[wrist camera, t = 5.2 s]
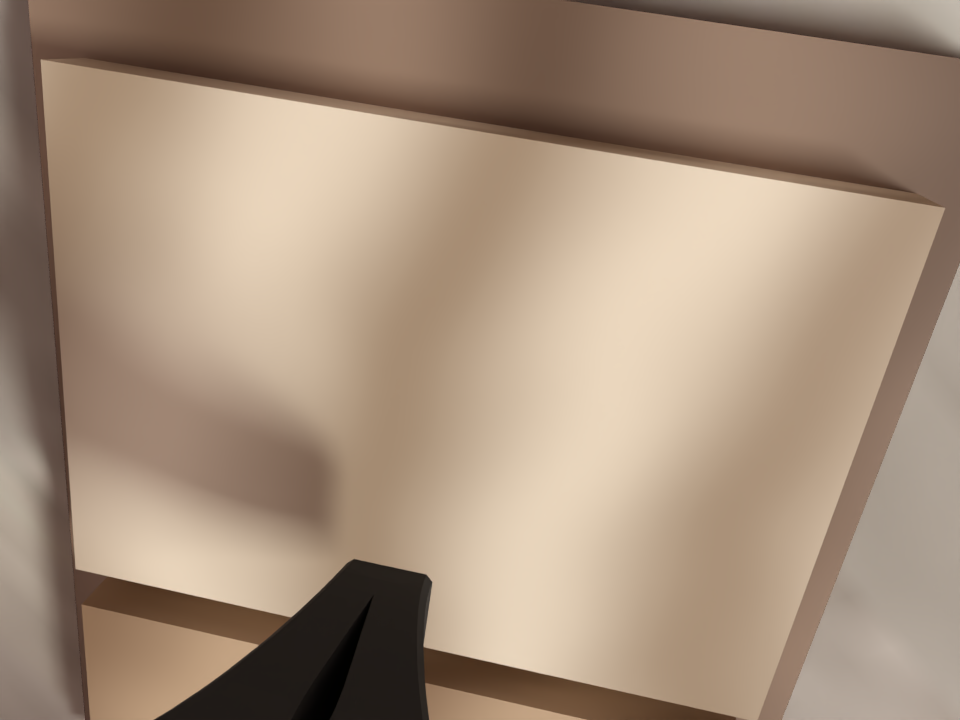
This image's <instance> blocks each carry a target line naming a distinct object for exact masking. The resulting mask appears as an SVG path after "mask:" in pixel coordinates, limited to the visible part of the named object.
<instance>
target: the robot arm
mask: <svg viewBox="0 0 960 720" xmlns="http://www.w3.org/2000/svg"><path fill="white" fill-rule="evenodd" d="M431 589H432V581H431V579H430V578H429V577H428V576H427V574H422V573H417V572H413V571H408V570H403V569H399V568H394V567H389V566H385V565H380V564H375V563H371V562H366V561H361V560H357V559H353V560H351V561H350V562H348V563H346V565H345V566H344V567H343V568H342V569H341V570H340V571H339V572H338V573H337V574H336V575H335V576H334V577H333V578H332V579H331V580H330V581H329V582H328V583H327V584H326V585H325V586H324V587H323V588H322V589H321V590H320V591H319V592H318V593H317V594H316V595H315V596H314V597H313V598H312V599H311V600H310V601H309V602H308V603H307V604H305V605H304V606H303V607H302V608H301V609H300V610H299V611H298V612H297V613H296V614H295V615H293V616H292V617H291V618H290V619H289V620H288V621H287V622H285V623H284V624H283V625H282V626H281V627H280V628H279V629H278V630H276V631H275V632H274V633H273V634H272V635H271V636H270V637H268V638H267V639H266V640H265V641H264V642H262V643H261V644H260V645H259V646H257V647H256V648H255V649H254V650H252V651H251V652H250V653H248V654H247V655H246V656H245V657H243V658H242V659H241V660H240V661H238V662H237V663H236V664H235V665H233V666H232V667H231V668H230V669H228V670H227V671H226V672H224V673H223V674H222V675H220V676H219V677H217V678H216V679H215V680H213V681H212V682H211V683H209V684H208V685H206V686H205V687H203V688H202V689H201V690H199V691H198V692H196V693H195V694H193V695H192V696H190V697H189V698H187V699H186V700H184V701H183V702H181V703H180V704H178V705H177V706H175V707H174V708H172V709H170V710H169V711H167V712H166V713H164V714H162V715H161V716H159V717H157V718H156V719H154V720H429V714H428V706H427V697H426V686H425V670H424V638H425V631H426V624H427V617H428V610H429V603H430V596H431Z"/></svg>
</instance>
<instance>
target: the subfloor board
mask: <svg viewBox="0 0 960 720" xmlns="http://www.w3.org/2000/svg"><path fill="white" fill-rule="evenodd" d="M28 7H29V19H30V32H31V45H32V57H33V70H34V82H35V95H36V107H37V120H38V133H39V145H40V158H41V170H42V183H43V196H44V208H45V221H46V233H47V246H48V258H49V271H50V284H51V296H52V309H53V321H54V334H55V346H56V359H57V372H58V384H59V397H60V409H61V422H62V435H63V447H64V460H65V472H66V485H67V497H68V510H69V523H70V535H71V548H72V560H73V573H74V586H75V598H76V611H77V623H78V636H79V648H80V661H81V674H82V686H83V699H84V711H85V720H154V719H156V718H157V717H159V716H161V715H162V714H164V713H166V712H167V711H169V710H170V709H172V708H174V707H175V706H177V705H178V704H180V703H181V702H183V701H184V700H186V699H187V698H189V697H190V696H192V695H193V694H195V693H196V692H198V691H199V690H201V689H202V688H203V687H205V686H206V685H208V684H209V683H211V682H212V681H213V680H215V679H216V678H217V677H219V676H220V675H222V674H223V673H224V672H226V671H227V670H228V669H230V668H231V667H232V666H233V665H235V664H236V663H237V662H238V661H240V660H241V659H242V658H243V657H245V656H246V655H247V654H248V653H250V652H251V651H252V650H254V649H255V648H256V647H257V646H259V645H260V644H261V643H262V642H264V641H265V640H266V639H267V638H268V637H270V636H271V635H272V634H273V633H274V632H275V631H276V630H278V629H279V628H280V627H281V626H282V625H283V624H284V623H285V622H287V621H288V620H289V619H290V618H291V617H287V616H283V615H278V614H274V613H269V612H265V611H261V610H256V609H252V608H247V607H243V606H238V605H234V604H229V603H225V602H220V601H216V600H212V599H207V598H203V597H198V596H194V595H189V594H185V593H180V592H176V591H171V590H167V589H162V588H158V587H154V586H149V585H145V584H140V583H136V582H131V581H127V580H122V579H118V578H113V577H109V576H105V575H100V574H96V573H91V572H87V571H82V570H78V569H76V568H75V553H74V539H73V524H72V510H71V495H70V481H69V466H68V451H67V437H66V422H65V408H64V393H63V379H62V364H61V349H60V335H59V320H58V306H57V291H56V277H55V262H54V247H53V233H52V218H51V204H50V189H49V175H48V160H47V145H46V131H45V116H44V102H43V87H42V73H41V59H74V58H88V59H94V60H100V61H106V62H112V63H119V64H125V65H131V66H137V67H143V68H149V69H155V70H161V71H168V72H174V73H180V74H186V75H192V76H198V77H204V78H211V79H217V80H223V81H229V82H235V83H241V84H247V85H254V86H260V87H266V88H272V89H278V90H284V91H290V92H296V93H303V94H309V95H315V96H321V97H327V98H333V99H339V100H346V101H352V102H358V103H364V104H370V105H376V106H382V107H389V108H395V109H401V110H407V111H413V112H419V113H425V114H432V115H438V116H444V117H450V118H456V119H462V120H468V121H474V122H481V123H487V124H493V125H499V126H505V127H511V128H517V129H524V130H530V131H536V132H542V133H548V134H554V135H560V136H567V137H573V138H579V139H585V140H591V141H597V142H603V143H609V144H616V145H622V146H628V147H634V148H640V149H646V150H652V151H659V152H665V153H671V154H677V155H683V156H689V157H695V158H702V159H708V160H714V161H720V162H726V163H732V164H738V165H745V166H751V167H757V168H763V169H769V170H775V171H781V172H787V173H794V174H800V175H806V176H812V177H818V178H824V179H830V180H837V181H843V182H849V183H855V184H861V185H867V186H873V187H880V188H886V189H892V190H898V191H904V192H910V193H916V194H919V195H921V196H923V197H925V198H927V199H929V200H931V201H933V202H935V203H937V204H939V205H941V206H943V207H945V210H944V213H943V216H942V218H941V221H940V224H939V227H938V229H937V232H936V235H935V238H934V240H933V243H932V246H931V248H930V251H929V254H928V257H927V259H926V262H925V265H924V268H923V270H922V273H921V276H920V278H919V281H918V284H917V287H916V289H915V292H914V295H913V298H912V300H911V303H910V306H909V308H908V311H907V314H906V317H905V319H904V322H903V325H902V328H901V330H900V333H899V336H898V338H897V341H896V344H895V347H894V349H893V352H892V355H891V358H890V360H889V363H888V366H887V368H886V371H885V374H884V377H883V379H882V382H881V385H880V388H879V390H878V393H877V396H876V398H875V401H874V404H873V407H872V409H871V412H870V415H869V418H868V420H867V423H866V426H865V428H864V431H863V434H862V437H861V439H860V442H859V445H858V448H857V450H856V453H855V456H854V458H853V461H852V464H851V467H850V469H849V472H848V475H847V478H846V480H845V483H844V486H843V488H842V491H841V494H840V497H839V499H838V502H837V505H836V508H835V510H834V513H833V516H832V518H831V521H830V524H829V527H828V529H827V532H826V535H825V538H824V540H823V543H822V546H821V548H820V551H819V554H818V557H817V559H816V562H815V565H814V568H813V570H812V573H811V576H810V579H809V581H808V584H807V587H806V589H805V592H804V595H803V598H802V600H801V603H800V606H799V609H798V611H797V614H796V617H795V619H794V622H793V625H792V628H791V630H790V633H789V636H788V639H787V641H786V644H785V647H784V649H783V652H782V655H781V658H780V660H779V663H778V666H777V669H776V671H775V674H774V677H773V679H772V682H771V685H770V688H769V690H768V693H767V696H766V699H765V701H764V704H763V707H762V709H761V712H760V715H759V718H758V720H782V718H783V715H784V712H785V710H786V707H787V705H788V702H789V700H790V697H791V694H792V692H793V689H794V687H795V684H796V682H797V679H798V676H799V674H800V671H801V669H802V666H803V664H804V661H805V659H806V656H807V653H808V651H809V648H810V646H811V643H812V641H813V638H814V635H815V633H816V630H817V628H818V625H819V623H820V620H821V617H822V615H823V612H824V610H825V607H826V605H827V602H828V600H829V597H830V594H831V592H832V589H833V587H834V584H835V582H836V579H837V576H838V574H839V571H840V569H841V566H842V564H843V561H844V558H845V556H846V553H847V551H848V548H849V546H850V543H851V541H852V538H853V535H854V533H855V530H856V528H857V525H858V523H859V520H860V517H861V515H862V512H863V510H864V507H865V505H866V502H867V499H868V497H869V494H870V492H871V489H872V487H873V484H874V482H875V479H876V476H877V474H878V471H879V469H880V466H881V464H882V461H883V458H884V456H885V453H886V451H887V448H888V446H889V443H890V440H891V438H892V435H893V433H894V430H895V428H896V425H897V423H898V420H899V417H900V415H901V412H902V410H903V407H904V405H905V402H906V399H907V397H908V394H909V392H910V389H911V387H912V384H913V381H914V379H915V376H916V374H917V371H918V369H919V366H920V364H921V361H922V358H923V356H924V353H925V351H926V348H927V346H928V343H929V340H930V338H931V335H932V333H933V330H934V328H935V325H936V322H937V320H938V317H939V315H940V312H941V310H942V307H943V305H944V302H945V299H946V297H947V294H948V292H949V289H950V287H951V284H952V281H953V279H954V276H955V274H956V271H957V269H958V266H959V263H960V59H959V58H952V57H946V56H939V55H932V54H925V53H919V52H912V51H905V50H898V49H891V48H885V47H878V46H871V45H864V44H858V43H851V42H844V41H837V40H830V39H824V38H817V37H810V36H803V35H797V34H790V33H783V32H776V31H769V30H763V29H756V28H749V27H742V26H736V25H729V24H722V23H715V22H709V21H702V20H695V19H688V18H681V17H675V16H668V15H661V14H654V13H648V12H641V11H634V10H627V9H620V8H614V7H607V6H600V5H593V4H587V3H580V2H573V1H566V0H28ZM424 670H425V686H426V697H427V706H428V714H429V720H747V719H742V718H738V717H733V716H729V715H724V714H720V713H715V712H711V711H706V710H702V709H698V708H693V707H689V706H684V705H680V704H675V703H671V702H666V701H662V700H657V699H653V698H648V697H644V696H640V695H635V694H631V693H626V692H622V691H617V690H613V689H608V688H604V687H599V686H595V685H591V684H586V683H582V682H577V681H573V680H568V679H564V678H559V677H555V676H550V675H546V674H541V673H537V672H533V671H528V670H524V669H519V668H515V667H510V666H506V665H501V664H497V663H492V662H488V661H484V660H479V659H475V658H470V657H466V656H461V655H457V654H452V653H448V652H443V651H439V650H434V649H430V648H426V647H424Z"/></svg>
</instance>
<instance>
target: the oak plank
mask: <svg viewBox="0 0 960 720" xmlns="http://www.w3.org/2000/svg"><path fill="white" fill-rule="evenodd" d="M41 73H42V87H43V102H44V116H45V131H46V145H47V160H48V175H49V189H50V204H51V218H52V233H53V247H54V262H55V277H56V291H57V306H58V320H59V335H60V349H61V364H62V379H63V393H64V408H65V422H66V437H67V451H68V466H69V481H70V495H71V510H72V524H73V539H74V553H75V568H76V569H78V570H82V571H87V572H91V573H96V574H100V575H105V576H109V577H113V578H118V579H122V580H127V581H131V582H136V583H140V584H145V585H149V586H154V587H158V588H162V589H167V590H171V591H176V592H180V593H185V594H189V595H194V596H198V597H203V598H207V599H212V600H216V601H220V602H225V603H229V604H234V605H238V606H243V607H247V608H252V609H256V610H261V611H265V612H269V613H274V614H278V615H283V616H287V617H292V616H293V615H295V614H296V613H297V612H298V611H299V610H300V609H301V608H302V607H303V606H304V605H305V604H307V603H308V602H309V601H310V600H311V599H312V598H313V597H314V596H315V595H316V594H317V593H318V592H319V591H320V590H321V589H322V588H323V587H324V586H325V585H326V584H327V583H328V582H329V581H330V580H331V579H332V578H333V577H334V576H335V575H336V574H337V573H338V572H339V571H340V570H341V569H342V568H343V567H344V566H345V565H346V563H348V562H350V561H351V560H353V559H357V560H361V561H366V562H371V563H375V564H380V565H385V566H389V567H394V568H399V569H403V570H408V571H413V572H417V573H422V574H427V576H428V577H429V578H430V579H431V581H432V589H431V596H430V603H429V610H428V617H427V624H426V631H425V638H424V647H426V648H430V649H434V650H439V651H443V652H448V653H452V654H457V655H461V656H466V657H470V658H475V659H479V660H484V661H488V662H492V663H497V664H501V665H506V666H510V667H515V668H519V669H524V670H528V671H533V672H537V673H541V674H546V675H550V676H555V677H559V678H564V679H568V680H573V681H577V682H582V683H586V684H591V685H595V686H599V687H604V688H608V689H613V690H617V691H622V692H626V693H631V694H635V695H640V696H644V697H648V698H653V699H657V700H662V701H666V702H671V703H675V704H680V705H684V706H689V707H693V708H698V709H702V710H706V711H711V712H715V713H720V714H724V715H729V716H733V717H738V718H742V719H747V720H758V718H759V715H760V712H761V709H762V707H763V704H764V701H765V699H766V696H767V693H768V690H769V688H770V685H771V682H772V679H773V677H774V674H775V671H776V669H777V666H778V663H779V660H780V658H781V655H782V652H783V649H784V647H785V644H786V641H787V639H788V636H789V633H790V630H791V628H792V625H793V622H794V619H795V617H796V614H797V611H798V609H799V606H800V603H801V600H802V598H803V595H804V592H805V589H806V587H807V584H808V581H809V579H810V576H811V573H812V570H813V568H814V565H815V562H816V559H817V557H818V554H819V551H820V548H821V546H822V543H823V540H824V538H825V535H826V532H827V529H828V527H829V524H830V521H831V518H832V516H833V513H834V510H835V508H836V505H837V502H838V499H839V497H840V494H841V491H842V488H843V486H844V483H845V480H846V478H847V475H848V472H849V469H850V467H851V464H852V461H853V458H854V456H855V453H856V450H857V448H858V445H859V442H860V439H861V437H862V434H863V431H864V428H865V426H866V423H867V420H868V418H869V415H870V412H871V409H872V407H873V404H874V401H875V398H876V396H877V393H878V390H879V388H880V385H881V382H882V379H883V377H884V374H885V371H886V368H887V366H888V363H889V360H890V358H891V355H892V352H893V349H894V347H895V344H896V341H897V338H898V336H899V333H900V330H901V328H902V325H903V322H904V319H905V317H906V314H907V311H908V308H909V306H910V303H911V300H912V298H913V295H914V292H915V289H916V287H917V284H918V281H919V278H920V276H921V273H922V270H923V268H924V265H925V262H926V259H927V257H928V254H929V251H930V248H931V246H932V243H933V240H934V238H935V235H936V232H937V229H938V227H939V224H940V221H941V218H942V216H943V213H944V210H945V207H943V206H941V205H939V204H937V203H935V202H933V201H931V200H929V199H927V198H925V197H923V196H921V195H919V194H916V193H910V192H904V191H898V190H892V189H886V188H880V187H873V186H867V185H861V184H855V183H849V182H843V181H837V180H830V179H824V178H818V177H812V176H806V175H800V174H794V173H787V172H781V171H775V170H769V169H763V168H757V167H751V166H745V165H738V164H732V163H726V162H720V161H714V160H708V159H702V158H695V157H689V156H683V155H677V154H671V153H665V152H659V151H652V150H646V149H640V148H634V147H628V146H622V145H616V144H609V143H603V142H597V141H591V140H585V139H579V138H573V137H567V136H560V135H554V134H548V133H542V132H536V131H530V130H524V129H517V128H511V127H505V126H499V125H493V124H487V123H481V122H474V121H468V120H462V119H456V118H450V117H444V116H438V115H432V114H425V113H419V112H413V111H407V110H401V109H395V108H389V107H382V106H376V105H370V104H364V103H358V102H352V101H346V100H339V99H333V98H327V97H321V96H315V95H309V94H303V93H296V92H290V91H284V90H278V89H272V88H266V87H260V86H254V85H247V84H241V83H235V82H229V81H223V80H217V79H211V78H204V77H198V76H192V75H186V74H180V73H174V72H168V71H161V70H155V69H149V68H143V67H137V66H131V65H125V64H119V63H112V62H106V61H100V60H94V59H88V58H74V59H41Z"/></svg>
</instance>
